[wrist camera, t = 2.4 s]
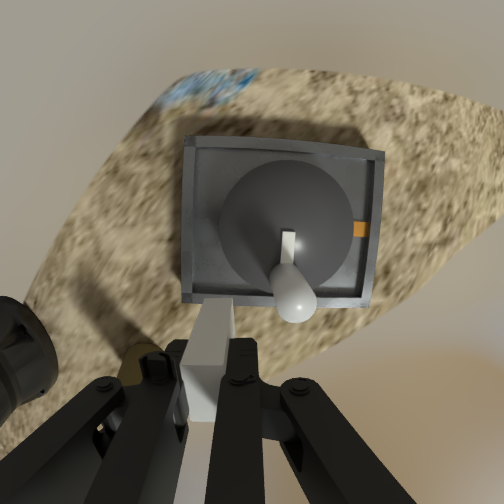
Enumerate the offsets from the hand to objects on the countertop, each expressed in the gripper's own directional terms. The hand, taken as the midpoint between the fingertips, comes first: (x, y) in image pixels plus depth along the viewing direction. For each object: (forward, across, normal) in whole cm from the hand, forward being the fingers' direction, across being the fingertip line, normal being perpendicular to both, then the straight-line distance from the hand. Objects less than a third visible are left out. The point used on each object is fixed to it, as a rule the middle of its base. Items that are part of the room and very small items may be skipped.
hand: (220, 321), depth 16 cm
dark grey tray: (+14, +5, +4) cm, 15 cm away
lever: (+12, +5, +4) cm, 13 cm away
